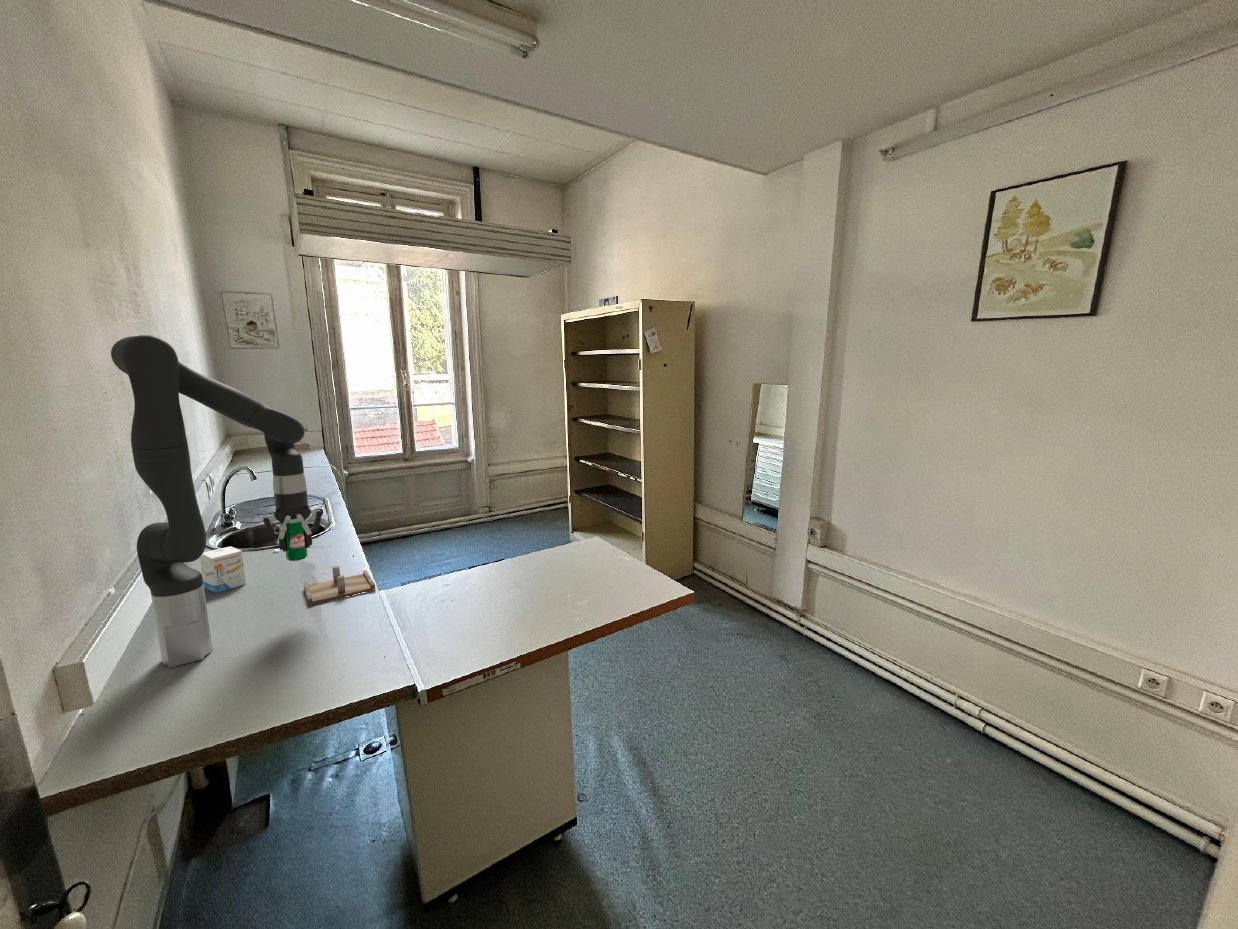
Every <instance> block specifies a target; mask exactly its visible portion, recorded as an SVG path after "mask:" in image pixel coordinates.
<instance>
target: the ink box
mask: <svg viewBox="0 0 1238 929" xmlns="http://www.w3.org/2000/svg"><path fill="white" fill-rule="evenodd" d="M243 558H244V557H243V551H242V550H240V549H238V548H236V547H233V546H226V547H222V548H217V549H212V550H209V551H204V552H203V554H202V555H201V556H200V557H199V562H200V569H201V571H200V572H201V574H202V577H203V585H204V590H205V589H206V590H207V591H210V592H211V593H214V594H219V593H222V592H225V591H228V590H232V589H235V588H238V587H241V586H244V585H247V581H246V574H245V573H246V572H245V564H244V559H243Z"/></svg>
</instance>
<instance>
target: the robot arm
mask: <svg viewBox="0 0 1238 929" xmlns="http://www.w3.org/2000/svg"><path fill="white" fill-rule="evenodd" d="M110 357H111V359H112V362H113V364H114V365H115V366H116V368H118V370H120V371H121V372H123V373H124V374H127V376H128V378H129V382H130V385H131V390H132V394H133V401H134V410H133V417H132V421H131V422H132V423H131V431H130V442H131V443H130V446H131V452H132V458H133V463H134V464H133V465H134V468H135V472H137V474H138V476H139V477H140V478H141V480H142V481H143V483H144V484H145V485H147V487H148V488H149V489H150V490H151V492H152V493H153V494H154V495H155V496H156V497H157V499H158V500H159V501H160V502H161V504H162V506H163V509H164V511H165V514H166V518H167V522H164V521H163V522H153V523H151V524H148V525H147V526H145V527H144V528H142V530H141V531H140V532H139V535H138V536H137V541H136V552H137V558H138V562H139V566H140V571H141V574H142V578H143V581H144V584H145V585H146V587H148V589H149V590H150V597H151V601H152V609H153V614H154V615H153V616H154V620H155V626H156V632H157V638H158V646H159V650H160V657H161V663H162V664H163V665H165V666H167V667H168V668H175V667H177V666H182V665H185V664H189V663H193V662H197V661H201V660H204V658H205V657H206V656H207V655H210V653H211V652H213V646H214V645H213V640H212V633H211V627H210V621H209V620H210V619H209V614H208V606H207V600H206V593H205V588H204V585H203V577H202V572H201V571H199V570H196V569H194V568H192V567H190V566H188V565H186V563H192V562H195V561H197V560H198V559H200V556H201V555H202V554H203V553H204V552H205V550H206V546H207V533H206V528H205V525H204V520H203V517H202V515H201V511H200V508H199V502H198V499H197V495H196V494H197V493H196V490H195V484H194V480H193V473H192V466H191V465H192V464H191V456H190V450H189V444H188V443H189V442H188V438H187V433H186V427H185V422H184V417H183V412H182V408H181V403H180V394H181V395H183V396H185V397H187V398H189V399H191V400H193V401H195V402H198V403H199V404H201V405H203V406H205V407H207V408H209V409H211V410H213V411H215V412H217V413H219V414H221V415H222V416H223V417H226V418H228V419H230V420H232V421H234V422H237V423H238V424H241V425H243V426H244V427H247V428H251V429H255V430H258V431H260V432H262V433H263V436H264V442H265V444H266V447H267V450H268V453H269V455H270V458H271V459H270V460H271V466H272V468H271V469H272V477H273V478H272V491H273V497H274V507H275V512H274V513H273V514H271V515H267V516H266V515H264V516H263V517H262V521H263V523H264V526H265V527H266V528H265V529H266V530H267V532H268V535H269V537H270V538H271V539H277V540H278V547H279V550H280V551H282V552H285V553H286V545H285V538H284V535H285V531H286V530H287V527H286V524H285V523H287V522H289V521H290V519H295V518H298V520H300V521H301V522H302V521H303V522H302V527H303V528H304V530H305V533H306V544H307V549H310V547H311V546H312V545H313V537H312V535H313V534H314V533H317V532H319V531H320V525H321V520H322V516H323V513H322V512H323V511H322V510H321V509H311V508H310V507H309V500H308V489H307V488H308V487H307V481H306V480H307V479H306V477H305V470H304V462H303V461H304V459H303V456H302V454H301V453H300V452H298V451H297V449H296V448H297V447H296V444H297V443H299V442H300V441H302V440H303V439H304V436H305V428H304V426H303V424H302V423H301V422H300V421H299V420H297V419H296V418H294V417H293V416H291V415H288V414H286V413H284V412H281V411H280V410H276V409H274V408H271V407H270V406H268V405H266V404H264V403H262V402H261V401H259V400H257V399H255V398H254V397H252V396H250V395H249V394H246V393H245V392H243V391H241V390H238V389H236V388H234V387H232V386H230V385H227V384H225V383H223V382H220V381H218V380H216V379H214V378H211V377H209V376H207V375H204V374H202V373H200V372H198V371H196V370H194V369H192V368H190V367H189V366H187V365H185V364H183V363H182V362H180V361H179V357H178V355H177V352H176V351H175V348H174V347H173V346H172V345H171V344H170V343H169V342H168V341H166V340H164V339H162V338H160V337H158V336H154V335H151V334H150V335H148V334H147V335H146V334H145V335H144V334H142V335H131V336H128V337H127V336H126V337H123V338H120V340H119V339H118V340H117V341H116V342H115V343H114V344H113V345H112V346H111V350H110ZM310 515H312V517H313V519H314V520H313V526H312V527H309V525H308V523H307V519H308V518H309V516H310ZM274 520H277V521H278V522H279V523H281V524H280V527H279V531H278V532H276V531H275V529H274V527H273V525H272V524H274Z"/></svg>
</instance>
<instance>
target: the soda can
mask: <svg viewBox="0 0 1238 929" xmlns="http://www.w3.org/2000/svg"><path fill="white" fill-rule="evenodd" d="M302 522H303V521H302ZM302 522H301V521H300V520H298V518H295V519H290V521H289V522H287V523H285V524H286V527H287V530H286V531H285V535H284V538H285V545H286V551H285V557H286V558H285V559H286V560H288V561H290V562H297V561H298V562H299V561H302V560H304V559H306V558H307V557H308V555H309V554H308V548H307V544H306V532H305V530H304V528H303V527H302Z"/></svg>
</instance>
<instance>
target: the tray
mask: <svg viewBox="0 0 1238 929" xmlns="http://www.w3.org/2000/svg"><path fill="white" fill-rule="evenodd" d="M374 589H375V590H374ZM303 591H304V594H305V597H306V602H307V604H308V607H311V606H315V605H319V604H323V603H329V602H332V600H333V601H337V600H336V599H338V600H342V599H345V598H344V597H346V596H351V597H353V596H352V595H354V594H358V593H362V592H368V593H372V592H375V591H376V584H375V583H374V580H373V579H372V577H371V576H370V574H369V573H368V571H367V570H362V574H355V575H351V576H346V577H345V575H341V570H340V566H339V565H336V566H332V580H327V581H323V582H318V583H312V584H308V582H304V583H303ZM341 598H342V599H341Z"/></svg>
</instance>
